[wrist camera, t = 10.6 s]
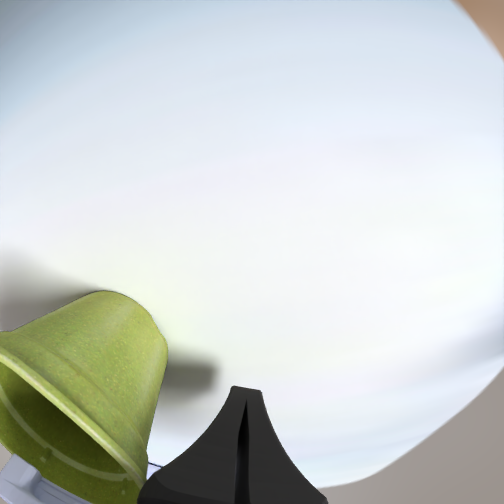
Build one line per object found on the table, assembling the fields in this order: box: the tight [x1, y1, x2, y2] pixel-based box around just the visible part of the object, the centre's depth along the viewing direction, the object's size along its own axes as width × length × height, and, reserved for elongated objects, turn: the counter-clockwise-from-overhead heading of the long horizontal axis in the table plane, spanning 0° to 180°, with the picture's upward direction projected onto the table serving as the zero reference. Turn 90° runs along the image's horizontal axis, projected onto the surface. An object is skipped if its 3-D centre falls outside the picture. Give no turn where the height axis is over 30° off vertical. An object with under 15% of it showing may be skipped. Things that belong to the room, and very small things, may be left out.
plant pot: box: [0, 291, 168, 504], centre depth 10 cm, size 9×9×9 cm
